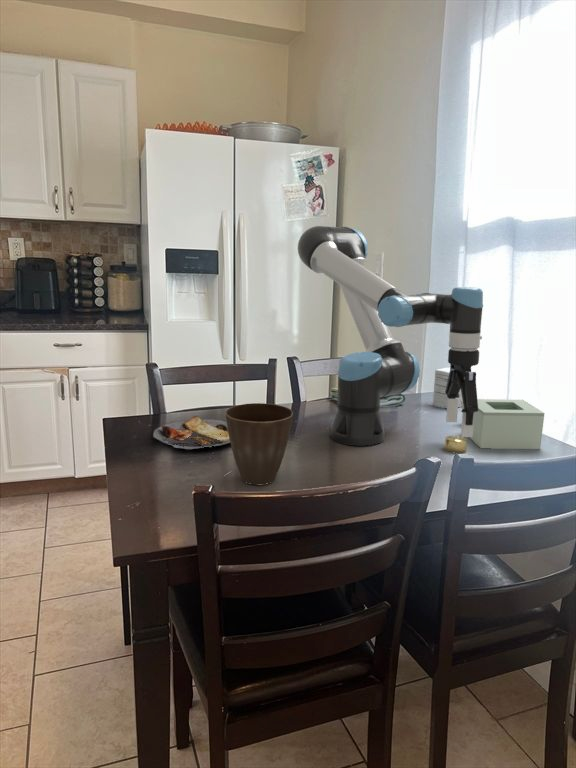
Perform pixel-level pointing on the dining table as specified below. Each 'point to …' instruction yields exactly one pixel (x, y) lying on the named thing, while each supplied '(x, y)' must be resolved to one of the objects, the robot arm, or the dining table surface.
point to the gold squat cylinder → (455, 444)
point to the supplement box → (442, 388)
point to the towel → (384, 401)
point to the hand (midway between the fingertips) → (458, 429)
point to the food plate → (196, 425)
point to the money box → (507, 424)
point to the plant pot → (258, 439)
